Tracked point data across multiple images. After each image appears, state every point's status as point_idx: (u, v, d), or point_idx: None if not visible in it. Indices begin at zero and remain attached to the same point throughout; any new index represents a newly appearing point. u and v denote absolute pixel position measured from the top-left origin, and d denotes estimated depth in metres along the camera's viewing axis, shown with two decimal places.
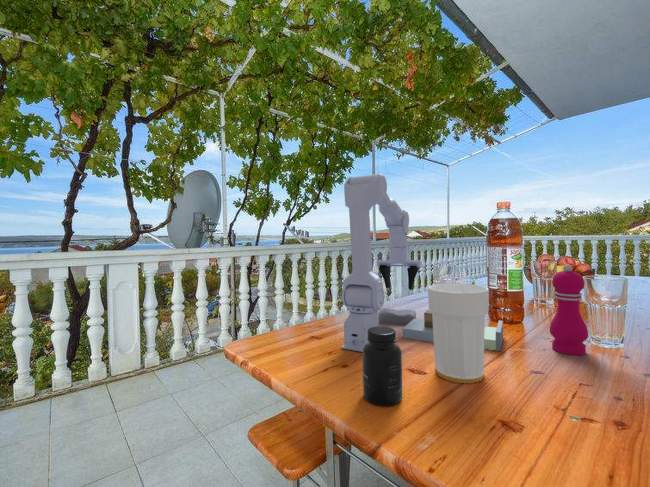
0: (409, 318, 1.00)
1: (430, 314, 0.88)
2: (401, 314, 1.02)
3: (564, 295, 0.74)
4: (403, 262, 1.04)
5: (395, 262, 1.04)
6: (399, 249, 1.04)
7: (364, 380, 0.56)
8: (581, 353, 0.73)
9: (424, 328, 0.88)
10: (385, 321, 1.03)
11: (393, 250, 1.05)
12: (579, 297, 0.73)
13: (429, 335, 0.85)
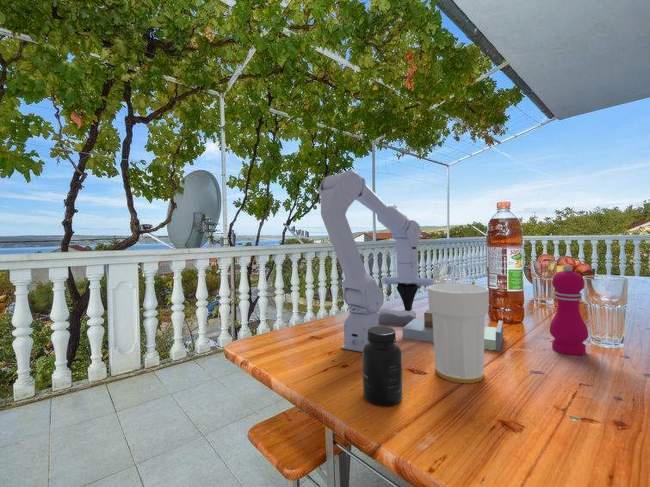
0: (409, 319, 1.00)
1: (430, 314, 0.88)
2: (401, 315, 1.01)
3: (564, 295, 0.74)
4: (413, 281, 0.90)
5: (404, 280, 0.90)
6: (408, 265, 0.90)
7: (364, 380, 0.56)
8: (581, 353, 0.73)
9: (424, 328, 0.88)
10: (385, 322, 1.02)
11: (401, 267, 0.91)
12: (579, 297, 0.73)
13: (429, 335, 0.85)
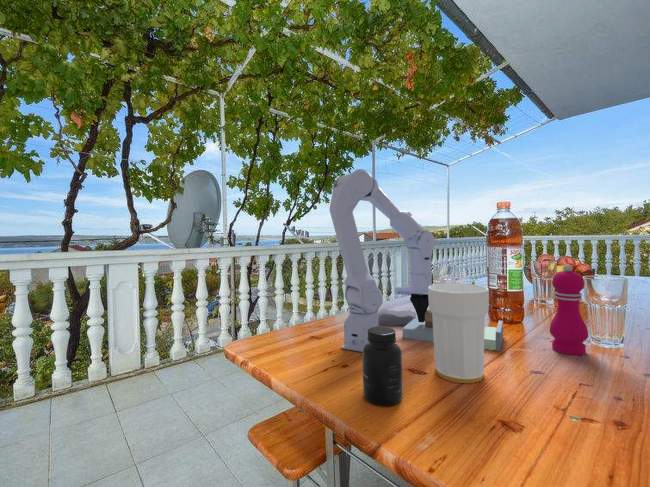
0: (409, 320, 0.99)
1: (431, 314, 0.88)
2: (401, 315, 1.00)
3: (564, 295, 0.74)
4: (427, 292, 0.88)
5: (418, 292, 0.88)
6: (422, 276, 0.88)
7: (364, 380, 0.56)
8: (581, 353, 0.73)
9: (424, 328, 0.88)
10: (385, 322, 1.01)
11: (415, 277, 0.89)
12: (579, 297, 0.73)
13: (429, 335, 0.85)
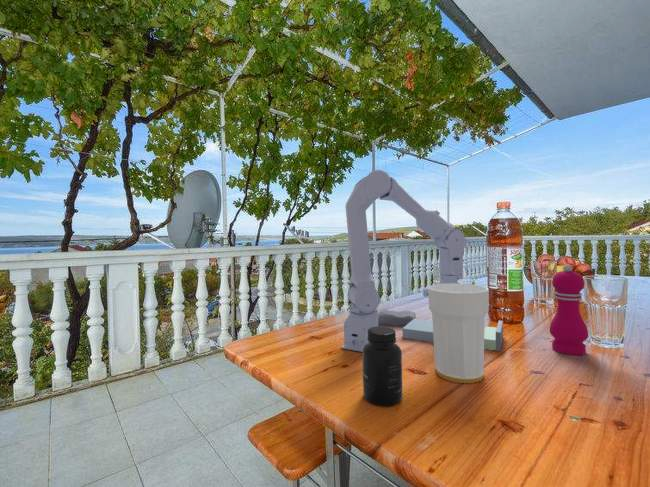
0: (409, 320, 0.98)
1: None
2: (401, 316, 1.00)
3: (564, 295, 0.74)
4: None
5: None
6: (454, 278, 0.84)
7: (364, 380, 0.56)
8: (581, 353, 0.73)
9: (424, 328, 0.88)
10: (384, 323, 1.01)
11: (446, 279, 0.85)
12: (579, 297, 0.73)
13: (429, 335, 0.85)
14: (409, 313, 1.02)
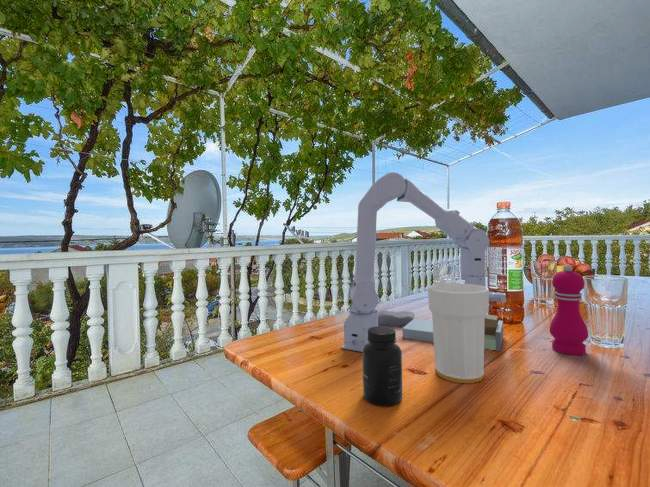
0: (409, 320, 0.98)
1: (486, 319, 0.81)
2: (400, 316, 0.99)
3: (564, 295, 0.74)
4: None
5: None
6: (477, 279, 0.81)
7: (364, 380, 0.56)
8: (581, 353, 0.73)
9: (424, 328, 0.88)
10: (384, 323, 1.00)
11: (468, 280, 0.82)
12: (579, 297, 0.73)
13: (429, 335, 0.85)
14: (408, 313, 1.01)
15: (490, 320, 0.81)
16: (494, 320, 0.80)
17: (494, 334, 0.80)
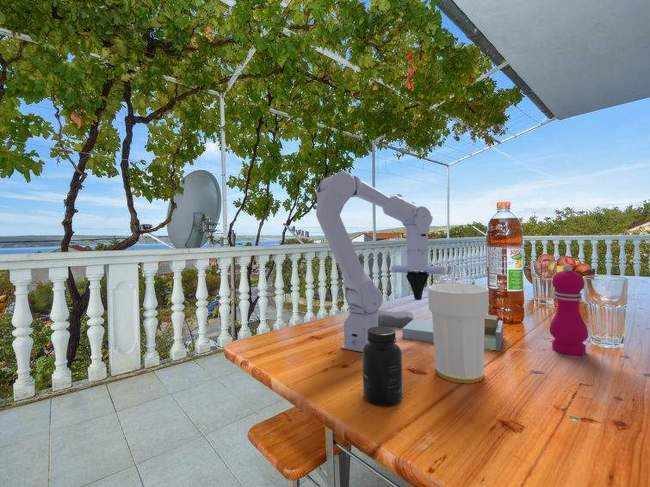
0: (408, 320, 0.98)
1: (486, 320, 0.81)
2: (399, 316, 0.99)
3: (564, 295, 0.74)
4: (424, 268, 0.87)
5: (414, 268, 0.88)
6: (419, 253, 0.87)
7: (364, 380, 0.56)
8: (581, 353, 0.73)
9: (424, 328, 0.88)
10: (383, 324, 1.00)
11: (412, 254, 0.88)
12: (579, 297, 0.73)
13: (429, 335, 0.85)
14: (407, 313, 1.01)
15: (490, 320, 0.81)
16: (494, 320, 0.80)
17: (494, 334, 0.80)
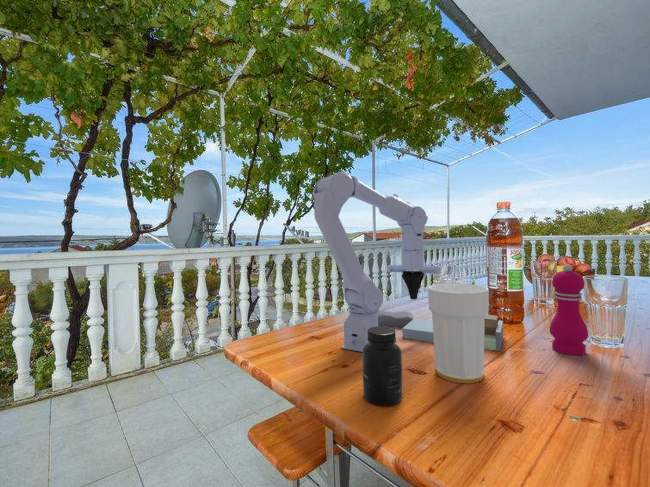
0: (407, 321, 0.98)
1: (486, 320, 0.81)
2: (399, 316, 0.99)
3: (564, 295, 0.74)
4: (419, 268, 0.88)
5: (409, 268, 0.88)
6: (414, 253, 0.88)
7: (364, 380, 0.56)
8: (581, 353, 0.73)
9: (424, 328, 0.88)
10: (382, 324, 1.00)
11: (407, 254, 0.89)
12: (579, 297, 0.73)
13: (429, 335, 0.85)
14: (407, 314, 1.01)
15: (490, 320, 0.81)
16: (494, 320, 0.80)
17: (494, 334, 0.80)
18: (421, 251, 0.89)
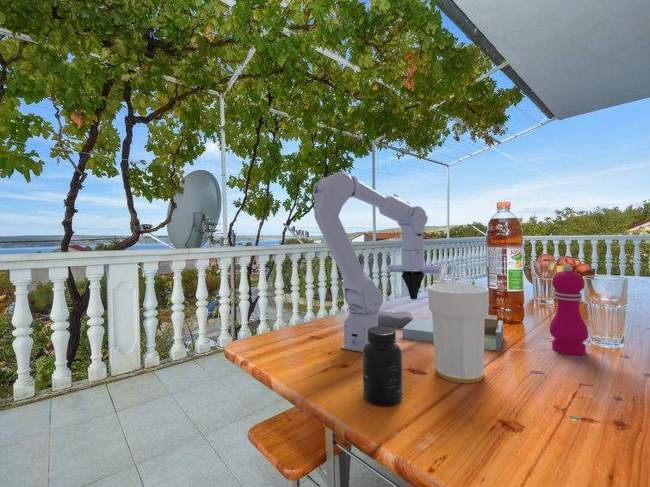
0: (407, 321, 0.98)
1: (486, 320, 0.81)
2: (399, 317, 0.99)
3: (564, 295, 0.74)
4: (419, 268, 0.88)
5: (409, 268, 0.88)
6: (414, 253, 0.88)
7: (364, 380, 0.56)
8: (581, 353, 0.73)
9: (424, 328, 0.88)
10: (382, 324, 0.99)
11: (407, 254, 0.89)
12: (579, 297, 0.73)
13: (429, 335, 0.85)
14: (406, 314, 1.01)
15: (490, 320, 0.81)
16: (494, 320, 0.80)
17: (494, 334, 0.80)
18: (421, 251, 0.89)
